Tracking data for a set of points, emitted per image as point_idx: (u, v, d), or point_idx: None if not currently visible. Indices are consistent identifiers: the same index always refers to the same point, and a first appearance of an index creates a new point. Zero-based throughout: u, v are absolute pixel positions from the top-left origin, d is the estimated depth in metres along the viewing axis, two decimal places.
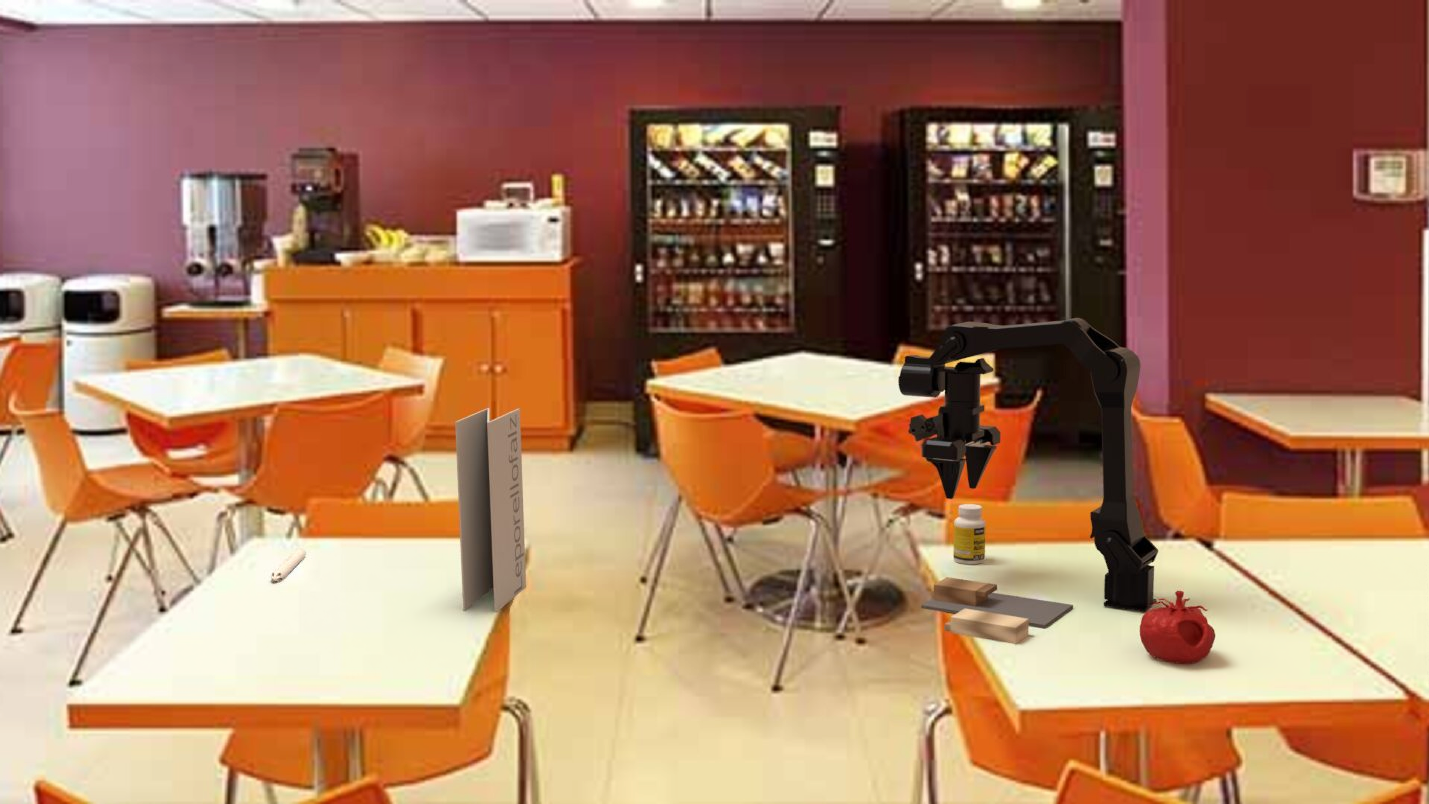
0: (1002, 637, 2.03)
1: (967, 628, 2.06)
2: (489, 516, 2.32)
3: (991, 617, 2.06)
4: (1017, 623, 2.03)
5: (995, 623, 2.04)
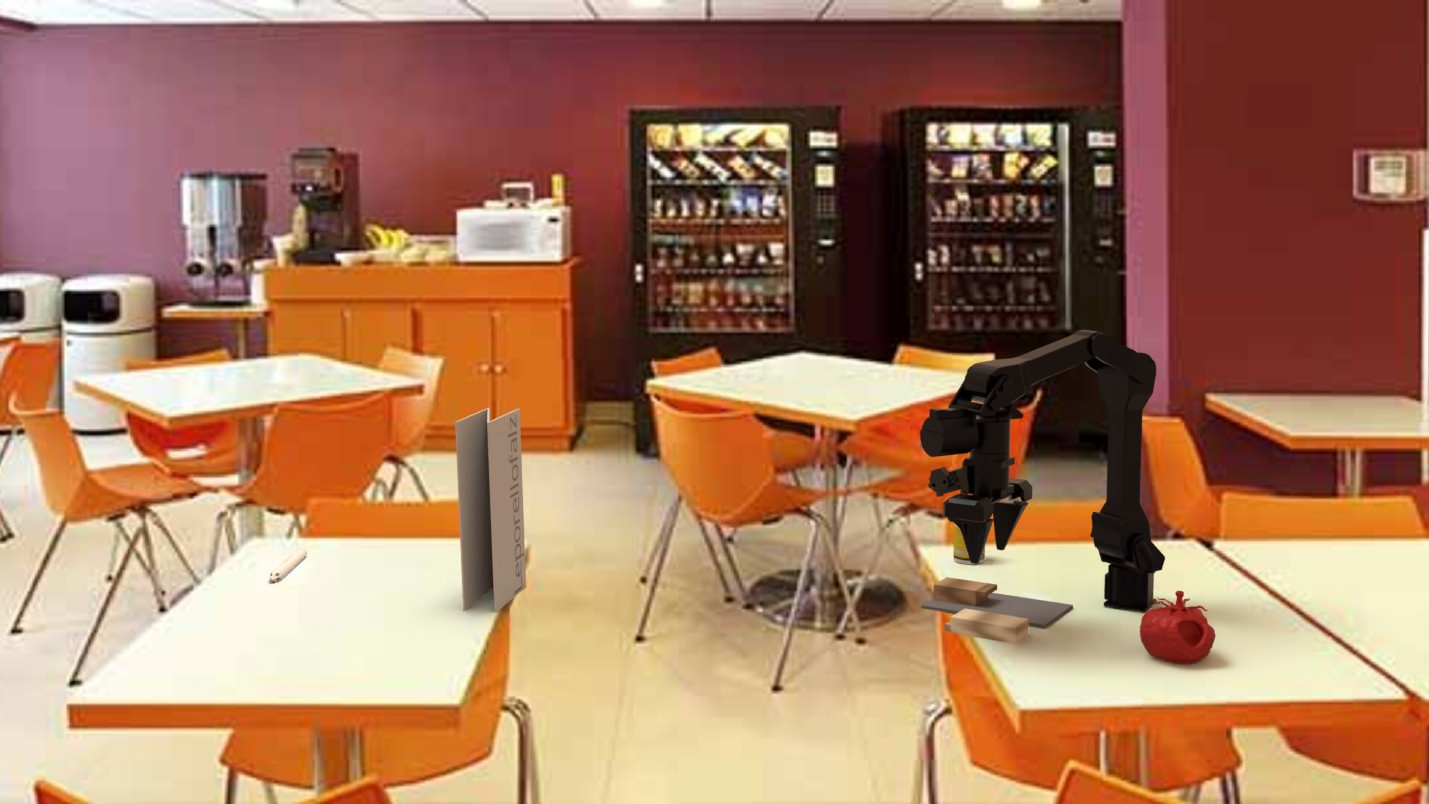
0: (1002, 637, 2.03)
1: (967, 628, 2.06)
2: (489, 516, 2.32)
3: (991, 617, 2.06)
4: (1017, 623, 2.03)
5: (995, 623, 2.04)
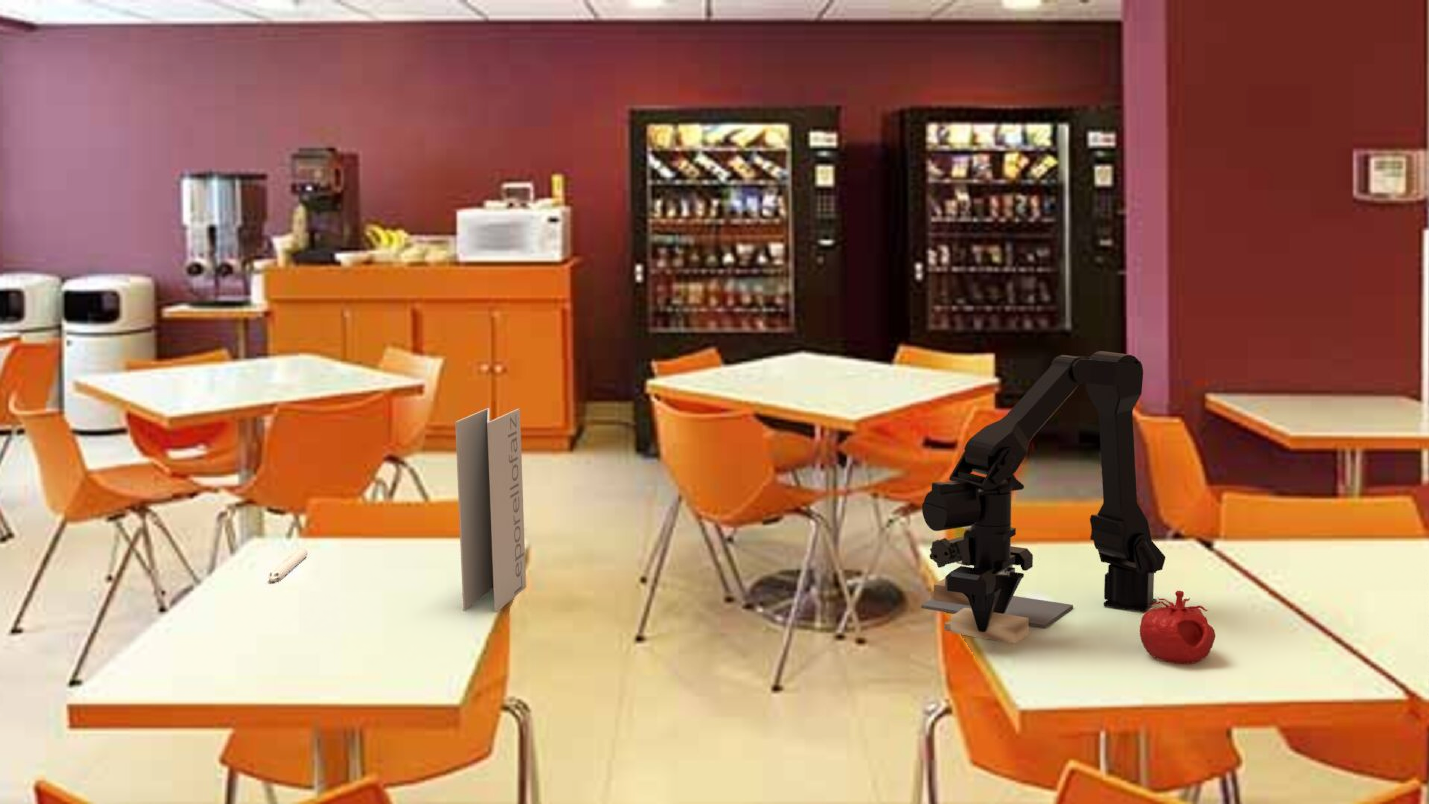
0: (1002, 636, 2.03)
1: (967, 628, 2.06)
2: (489, 516, 2.32)
3: None
4: (1017, 623, 2.03)
5: (995, 622, 2.04)
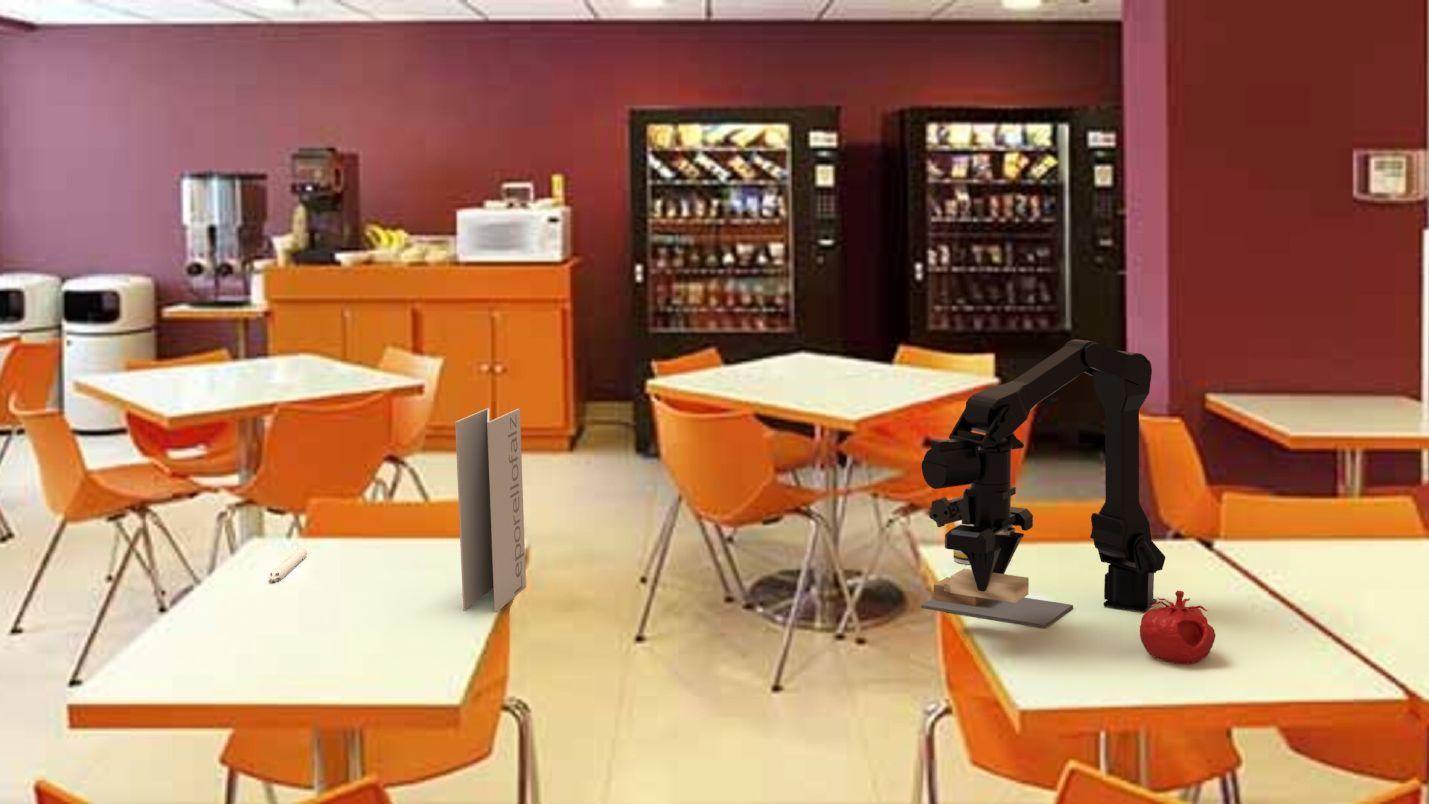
0: (1001, 595, 2.02)
1: (966, 588, 2.05)
2: (489, 516, 2.32)
3: (991, 576, 2.06)
4: (1017, 582, 2.02)
5: (995, 582, 2.03)
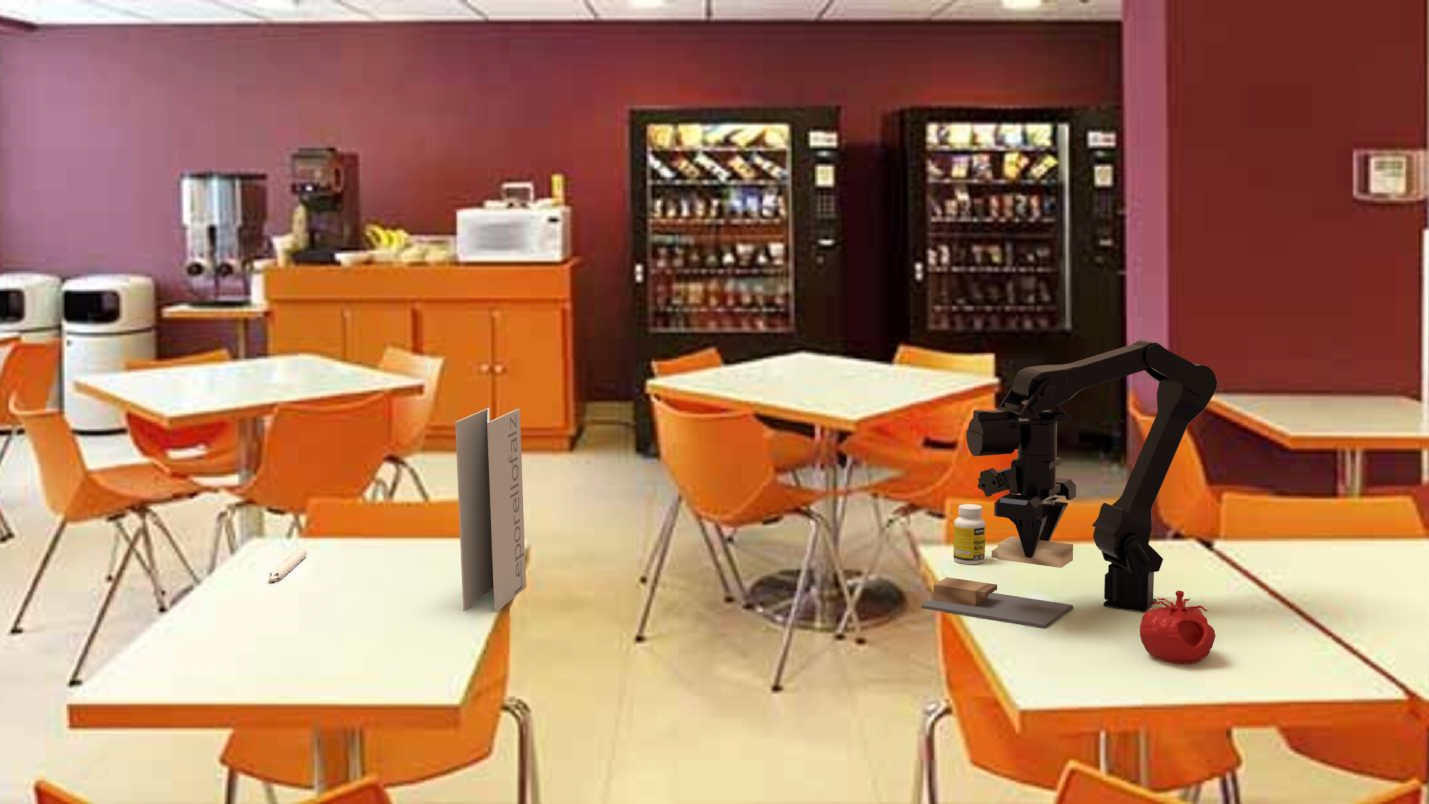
0: (1048, 561, 2.11)
1: (1013, 554, 2.14)
2: (489, 516, 2.32)
3: None
4: (1062, 548, 2.11)
5: (1041, 548, 2.12)
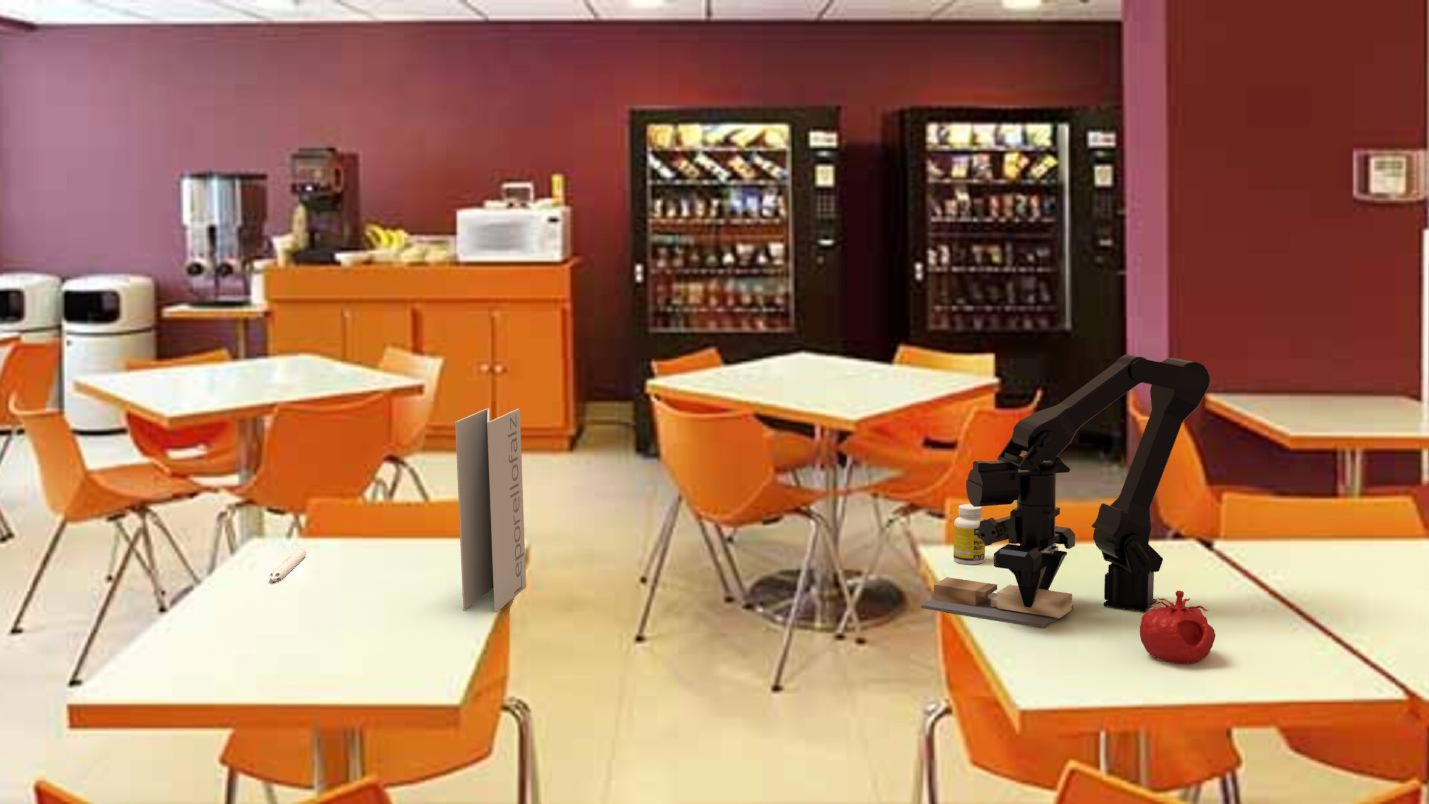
0: (1047, 610, 2.12)
1: (1012, 603, 2.15)
2: (489, 516, 2.32)
3: None
4: (1061, 598, 2.12)
5: (1040, 598, 2.13)
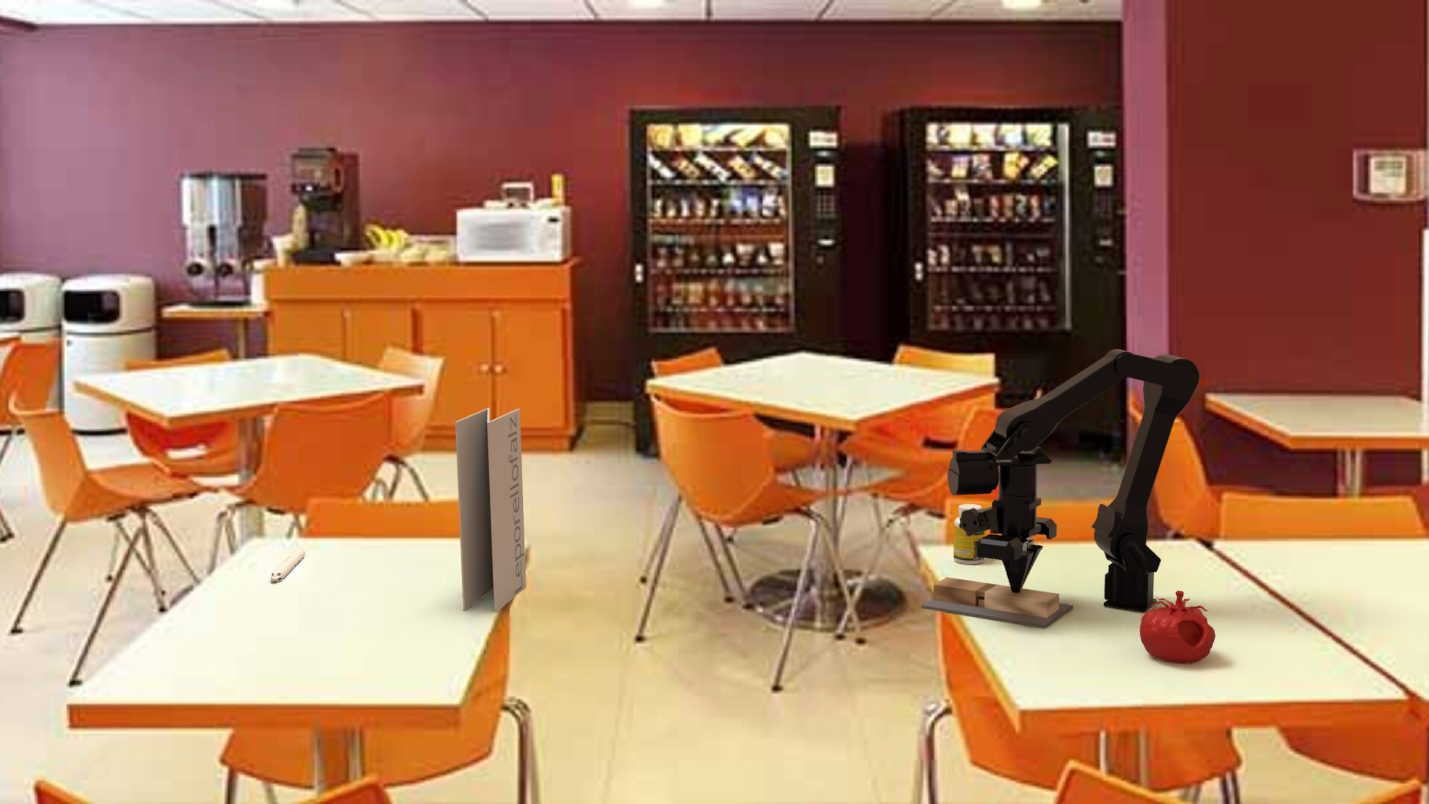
0: (1034, 610, 2.13)
1: (1000, 603, 2.16)
2: (489, 516, 2.32)
3: (1023, 592, 2.17)
4: (1048, 598, 2.13)
5: (1027, 598, 2.14)
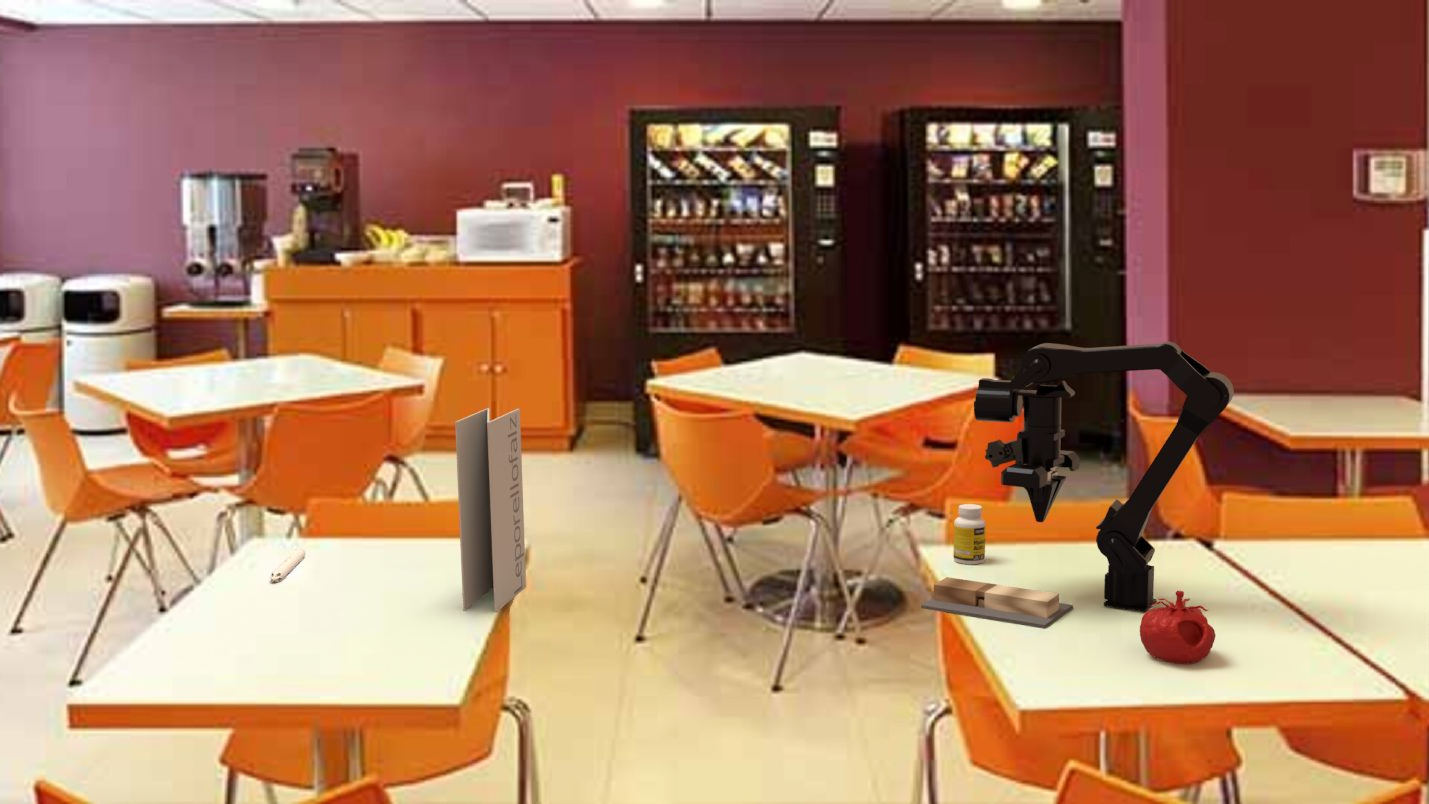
0: (1034, 610, 2.13)
1: (1000, 603, 2.16)
2: (489, 516, 2.32)
3: (1023, 592, 2.17)
4: (1048, 598, 2.13)
5: (1027, 598, 2.14)
